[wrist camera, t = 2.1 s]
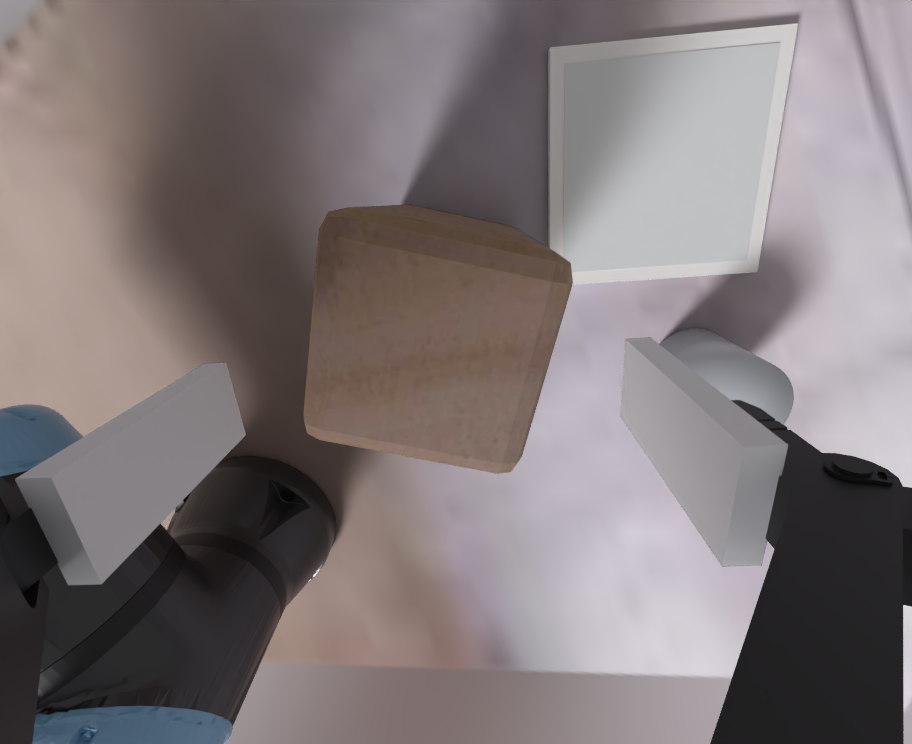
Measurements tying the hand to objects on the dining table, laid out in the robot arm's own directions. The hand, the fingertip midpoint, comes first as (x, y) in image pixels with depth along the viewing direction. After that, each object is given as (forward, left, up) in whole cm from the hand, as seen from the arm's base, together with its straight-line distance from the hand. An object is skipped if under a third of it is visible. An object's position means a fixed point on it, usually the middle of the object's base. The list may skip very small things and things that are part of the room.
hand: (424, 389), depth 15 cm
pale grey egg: (+20, -9, -23) cm, 32 cm away
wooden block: (0, 0, -23) cm, 23 cm away
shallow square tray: (+16, +7, -23) cm, 29 cm away
